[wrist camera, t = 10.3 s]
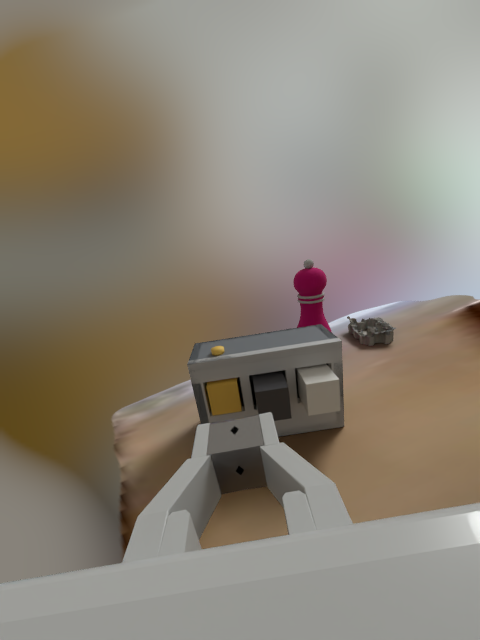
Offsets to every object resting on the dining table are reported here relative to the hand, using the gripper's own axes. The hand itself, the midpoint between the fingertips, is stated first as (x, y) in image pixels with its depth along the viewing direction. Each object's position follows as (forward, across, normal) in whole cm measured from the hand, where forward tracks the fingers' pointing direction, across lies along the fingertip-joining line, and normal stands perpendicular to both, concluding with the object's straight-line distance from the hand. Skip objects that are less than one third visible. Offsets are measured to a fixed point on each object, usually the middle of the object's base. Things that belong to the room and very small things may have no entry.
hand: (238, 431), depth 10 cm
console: (+20, -2, +17) cm, 27 cm away
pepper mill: (+37, -14, +18) cm, 44 cm away
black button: (+16, -3, +12) cm, 21 cm away
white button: (+16, -8, +12) cm, 22 cm away
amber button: (+19, +3, +12) cm, 23 cm away
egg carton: (+43, -30, +19) cm, 56 cm away
